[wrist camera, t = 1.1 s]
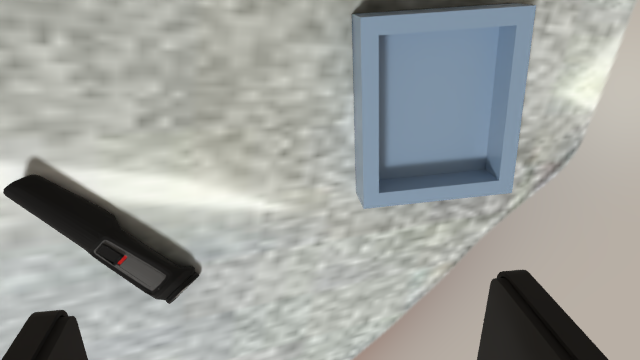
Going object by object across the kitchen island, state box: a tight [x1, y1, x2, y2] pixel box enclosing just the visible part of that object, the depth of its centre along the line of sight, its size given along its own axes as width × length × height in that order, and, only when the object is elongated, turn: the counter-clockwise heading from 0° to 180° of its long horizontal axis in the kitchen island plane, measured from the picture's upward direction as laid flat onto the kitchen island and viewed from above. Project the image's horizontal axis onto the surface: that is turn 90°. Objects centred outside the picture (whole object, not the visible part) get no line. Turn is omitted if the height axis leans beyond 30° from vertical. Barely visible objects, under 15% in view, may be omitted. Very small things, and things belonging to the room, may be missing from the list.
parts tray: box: [352, 3, 536, 209], centre depth 35 cm, size 14×12×3 cm
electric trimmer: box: [3, 175, 199, 304], centre depth 36 cm, size 4×16×3 cm, turn 44°
